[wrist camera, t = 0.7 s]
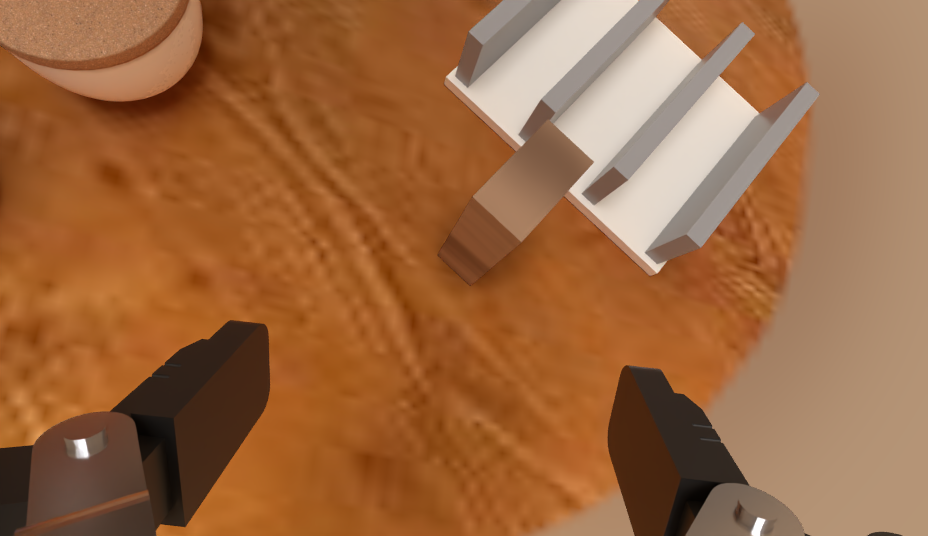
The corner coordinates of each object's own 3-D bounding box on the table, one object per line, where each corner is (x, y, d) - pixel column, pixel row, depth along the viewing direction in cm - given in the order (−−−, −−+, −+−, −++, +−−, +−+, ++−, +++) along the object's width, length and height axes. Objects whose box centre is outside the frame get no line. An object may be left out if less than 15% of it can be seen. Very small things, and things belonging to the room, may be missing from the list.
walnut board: (470, 285, 35) (521, 242, 24) (437, 255, 35) (472, 196, 24) (522, 229, 37) (594, 162, 25) (490, 199, 37) (548, 119, 25)
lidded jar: (253, 27, 36) (216, -89, 27) (170, 158, 34) (97, 78, 25) (102, -47, 35) (12, -193, 26) (4, 82, 33) (-134, -31, 24)
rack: (649, 275, 38) (701, 258, 32) (443, 84, 38) (458, 32, 32) (764, 132, 42) (827, 93, 36) (578, -40, 42) (612, -106, 36)
